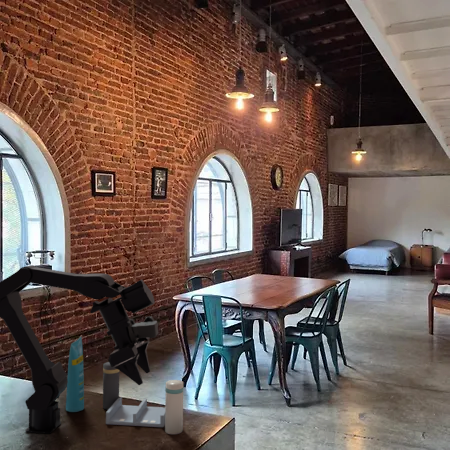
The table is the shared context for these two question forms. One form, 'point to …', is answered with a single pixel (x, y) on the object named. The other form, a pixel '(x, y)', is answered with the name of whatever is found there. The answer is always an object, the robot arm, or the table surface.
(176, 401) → the white bottle
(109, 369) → the grey bottle
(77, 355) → the tube
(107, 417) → the slot rack
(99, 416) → the table surface
